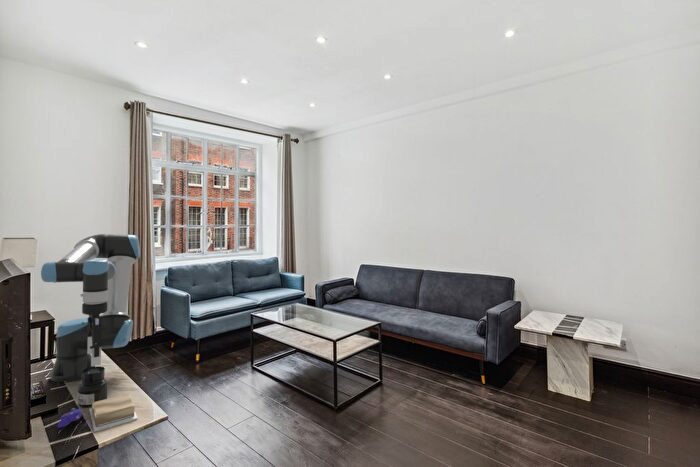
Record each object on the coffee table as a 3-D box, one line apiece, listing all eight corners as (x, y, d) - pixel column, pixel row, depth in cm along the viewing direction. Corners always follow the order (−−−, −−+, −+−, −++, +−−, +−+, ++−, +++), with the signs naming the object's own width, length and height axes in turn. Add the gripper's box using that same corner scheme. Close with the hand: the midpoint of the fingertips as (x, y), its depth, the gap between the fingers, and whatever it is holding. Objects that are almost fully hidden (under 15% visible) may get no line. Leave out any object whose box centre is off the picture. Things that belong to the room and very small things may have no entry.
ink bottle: (72, 403, 128) (72, 371, 128) (98, 393, 136) (99, 363, 135) (86, 411, 123) (86, 377, 123) (112, 400, 131) (113, 369, 131)
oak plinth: (91, 411, 123) (92, 402, 122) (128, 401, 130) (128, 393, 130) (95, 425, 114) (95, 416, 114) (134, 414, 122) (134, 405, 121)
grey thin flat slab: (89, 410, 124) (89, 408, 124) (128, 400, 132) (128, 398, 132) (94, 431, 112) (94, 429, 112) (137, 419, 120) (137, 417, 120)
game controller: (49, 413, 115) (87, 399, 121) (55, 438, 114) (92, 423, 120) (44, 418, 107) (84, 403, 113) (50, 445, 106) (90, 428, 112)
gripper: (79, 296, 135) (78, 350, 136) (85, 310, 117) (84, 373, 117) (103, 294, 140) (101, 347, 141) (112, 307, 122) (111, 368, 122)
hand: (93, 359), depth 129 cm, fingers open, 13 cm apart
